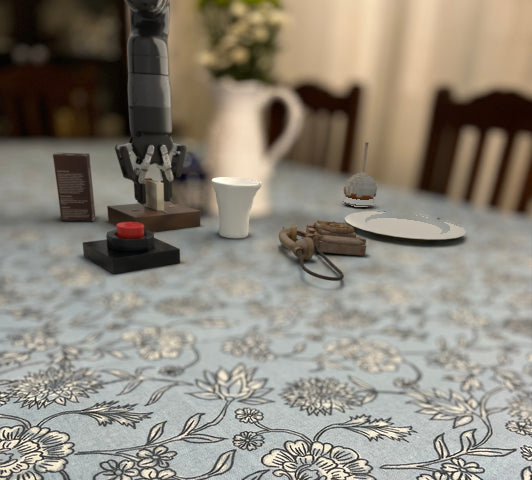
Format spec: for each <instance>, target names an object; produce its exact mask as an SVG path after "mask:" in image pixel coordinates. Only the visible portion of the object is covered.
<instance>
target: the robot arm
mask: <svg viewBox="0 0 532 480" xmlns="http://www.w3.org/2000/svg"><path fill="white" fill-rule="evenodd" d="M123 1H124V3H126V5H127V6H128V7H129V30H130V33H129V36H128V39H127V45H126V51H127V52H126V54H127V55H126V57H127V59H126V60H127V71H128V72H127V74H128V75H127V76H128V77H127V80H128V81H127V103H128V104H127V105H128V122H129V131H130V137H129V141H128V142H127V143H124V144H116V145H115V146H114V151H115V154H116V157H117V161H118V164H119V167H120V170H121V174H122V177H123V178H124V179H127V180H130V181H132V182H133V194H134V199H135V201H136V203H140V204H146V187H145V184H144V183H143V182H144V180H145V178H146V175H147V172H149V168H150V166H151V165H155V166H156V168H157V170H158V171H159V175H160V178H161V180H160V182H161V183H163V187H164V201H165V202H170V201H171V199H173V181H174V180H175V179H177V178H178V179H179V178H181V177H182V173H183V168H184V164H185V158H186V154H187V146H186V145H184V144H179V143H175V142H174V140H173V137H172V132H173V97H172V96H173V95H172V85H171V76H170V75H171V74H170V51H169V50H170V48H169V37H170V36H169V34H170V23H171V21H170V20H171V0H123ZM132 153H133V154H134V155H135V157H134V160H133V161H134V162H133V164H132V160H131V156H132ZM170 154H172V156H171V161H170V158H169V155H170Z"/></svg>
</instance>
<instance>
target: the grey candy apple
mask: <svg viewBox="0 0 532 480" xmlns="http://www.w3.org/2000/svg"><path fill="white" fill-rule="evenodd" d="M363 149H364V150H363V156H362V157H363V158H362V164H361V170H360V171H361V172H356V174H353V175H351V176H350V177H349V178H348V179H347V181H346V182H347V183H344V186H343V190H342V191H343V194H344V197H348V198H352V199H356V200H357V199H360V200H369V199H373V200H374V198H375V197H376V196H377V190H378V186H377V185H376V184H377V181H375V179H374V178H373V176H370V175H369V174H367V173H365V172H366V171H365V170H366V165H367V158H368V157H367V156H368V149H369V142H368V141H367V142H366V141H365V143H364V148H363ZM343 202H344V201H343V200H342V203H343ZM344 203H346V202H344ZM344 203H343V204H344ZM348 204H349V205H353V206H354V205H355V206H369V207H372V206H371V205H356V204H350V203H346V204H345V205H348ZM349 205H348V206H349Z"/></svg>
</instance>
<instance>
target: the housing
mask: <svg viewBox="0 0 532 480" xmlns="http://www.w3.org/2000/svg"><path fill="white" fill-rule="evenodd" d="M105 237H106V239H100V240H99V239H98V240H91V241H85V242H84V241H83V242H82V250H83V257H84V258H86V259H87V260H89V261H90V262H92V263H94V264H96V265H98V266H99V267H101V268H103V269H105V271H108V272H110V273H111V274H113V275H116V274H123V273H129V272H134V271H139V270H140V271H141V270H147V269H150V268H151V269H152V268H158V267H163V266H168V265H176V264H180V263H181V248H179V247H177V246H174V245H173V244H170V243H167V242H165V241H163V240H161V239H158V238H156V237H155V232H151V231H149V230H144V236H143V237H136V238H124V237H118V236H117V230H116V228H115V229H112V230H110V231H109V230H108V231H107V232H106V235H105Z"/></svg>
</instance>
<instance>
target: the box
mask: <svg viewBox="0 0 532 480" xmlns="http://www.w3.org/2000/svg"><path fill="white" fill-rule="evenodd" d="M52 159H53V166H54V167H53V168H54V174H55V181H56V189H57V196H58V206H59V213H60V220H61V221H62V222H63V221H87V222H89V221H90V222H94V220H95V219H96V209H95V198H94V187H93V178H92V167H91V156H90V153H86V152H85V153H83V152H55V153H53V154H52Z"/></svg>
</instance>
